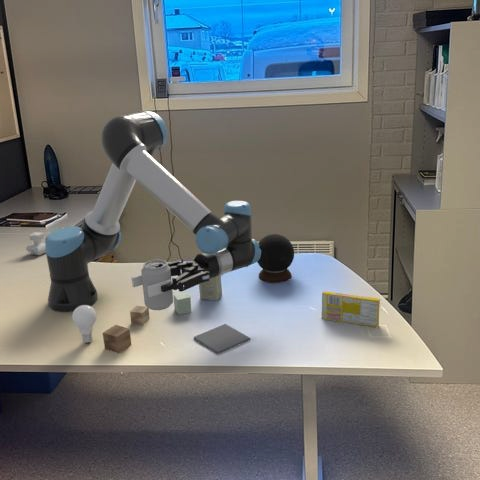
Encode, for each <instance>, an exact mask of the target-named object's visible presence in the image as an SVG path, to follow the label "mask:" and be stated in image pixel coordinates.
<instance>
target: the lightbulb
mask: <svg viewBox="0 0 480 480" xmlns="http://www.w3.org/2000/svg"><path fill="white" fill-rule="evenodd" d="M71 319H72V323H74V326H76V327H77V328H78V329H79V332H80V333H81V337H82V342H83V343H86V344H88V343H91V342H92V341H93V340H94V338H93V327H94V325H95V323H96V321H97V313H96V310H95V308H94V307H92V305H91V306H89V305H81V306H79V307H77V308H76V309H75V310H74V311H72V314H71Z"/></svg>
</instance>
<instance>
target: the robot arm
mask: <svg viewBox="0 0 480 480" xmlns="http://www.w3.org/2000/svg"><path fill="white" fill-rule="evenodd" d="M100 137H101V139H100V140H101V146H102V149H103V151H104V153H105V155H106V156H107V158H108V160H109V161H110V162H111V163H112V164H111V166H110V169H109V171H108V173H107V176H106V177H105V180H104V183H103V185H102V188H101V191H100V193H99V194H98V198H97V200H96V203H95V205H94V207H93V209H92V210H91V211H89V212H87V213H86V214H85V216H84V219H83V222H82V224H81V225H80V226H79V227H78V226H75V225H74V226H72V225H71V226H64V227H63V228H61V227H60V228H57V229H54V230H52V231H51V232H50V233H48V234H47V235H46V237H45V241H44V243H45V246H46V247H45V252H46V253H45V254H46V259H47V264H48V266H47V267H48V270H49V271H48V272H49V277H50V286H49V291H48V295H47V296H48V297H47V303H48V307H49V308H50V310H53V311H55V312H56V311H57V312H74V310H75V309H76V308H77V307H79V306H81V305H89V306H91V307H92V306H93V305H94V304H95V303H96V302H97V300H98V299H99V298H98V291H97V289H96V287H95V285H94V282H93V281H92V279H91V277H90V273H89V265H88V264H90V263H92V262H93V261H95V260H97V259H99V258H101V257H103V256H105V255H108V254H110V253H112V251H114V250H115V249H116V248H117V247H118V246H119V245H120V243H121V239H122V233H121V225H120V222H119V221H120V218H121V216H122V213H123V211H124V208H125V207H126V205H127V202H128V200H129V197H130V195H131V193H132V191H133V188H134V186H135V184H136V182H138V183H139V184H140V185H141V186H142V187H143V188H144V189H146V191H148V192H149V193H150V195H152V196H153V197H154V198H155V199H156V200H157V201H158V202H160V203H161V205H163V206H164V207H165V208H166V209H167V210H168V211H169V212H170V213H171V214H172V215H174V216H175V217H176V218H177V219H178V220H179V221H180V223H182V224H183V225H184V226H185V227H186V228H188V230H189V231H191V232H192V233H193V234H194V236H195V243H196V244H195V245H197V248H198V249H199V250H200V252H201V253H197V254H196V256H195V257H194V259H193V260H191V261H186V262H184V259H182V258H179V259H177V260H174V261H170V262H167V263H168V264H167V265H168V266H169V267H170V270H171V280H170V279H169V280H166V281H163V282H160V283H157V284H154V285H150V286H147V287H148V296H149V297H152V296H155V295H158V294H161V293H164V292H167V291H170V290H172V291H173V290H174V291H177V290H178V292H180V293H183V292H184V291H186V290H188V289H191V288H193V287H196V286H199V284H200V283H203V282H207V281H209V279H211V278H214V277H216V276H219V275H221V276H223V275H224V274H228V273H231V272H233V271H237V270H239V269H242V268H247V267H250V266H251V265H254V264H256V263H258V262H257V261H258V260H259V259H260V257H261V249H260V248H259V244H258V243H259V241H257V240H256V239H254V238H252V235H253V233H252V225H253V224H252V216H253V215H252V209H251V205H250V203H249V202H247V201H245V200H231V201H228V202H226V203H225V204H224V207H223V209H224V210H223V215H222V216H220V217H218V216H217V215H216V214H215V213H214V212H212V211H211V210H210V209H209V208H208V207H207V206H206V205H205V204H204V203H203V202H201V200H200V199H198V197H196V196H195V195H194V194H193V193H192V192H191V191H190V190H189V189H188V188H187V187H185V186H184V185H183V184H182V183H181V182H180V181H179V180H178V179H177V178H176V177H175V176H174V175H173V174H171V172H169V170H167V168H165V167H164V166H162V164H161V163H160V162H158V161H157V160H156V159H155V158H154V154H155V152H156V150H161V148H162V147H163V146H164V145H165V144H166V143H167V140H168V129H167V126H166V123H165V121H164V119H163V118H162V117H161V116H160V115H159V114H157V113H156V112H153V111H151V110H150V111H149V110H146V111H145V110H140V111H137V112H133V113H129V114H125V115H124V114H123V115H118V116H114V117H113V118H111V119H109V120H108V121H107V122H106V123H105V125H104V126H103V129H102V131H101V135H100ZM176 276H177V277H176ZM171 281H172V282H171ZM131 285H132V286H131V287H132V288H137V287H141V286H143V283H142V274H137V275H134V276H131Z"/></svg>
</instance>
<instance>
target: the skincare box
mask: <svg viewBox="0 0 480 480" xmlns="http://www.w3.org/2000/svg"><path fill="white" fill-rule="evenodd" d="M198 289H199V298H200V299H201V300H211V301H219V299H220V298H221V297H222V295H223V287H222V275H219V276H216V277H214V278H211V279H209V281H207V282H203V283H200V284H198Z"/></svg>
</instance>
